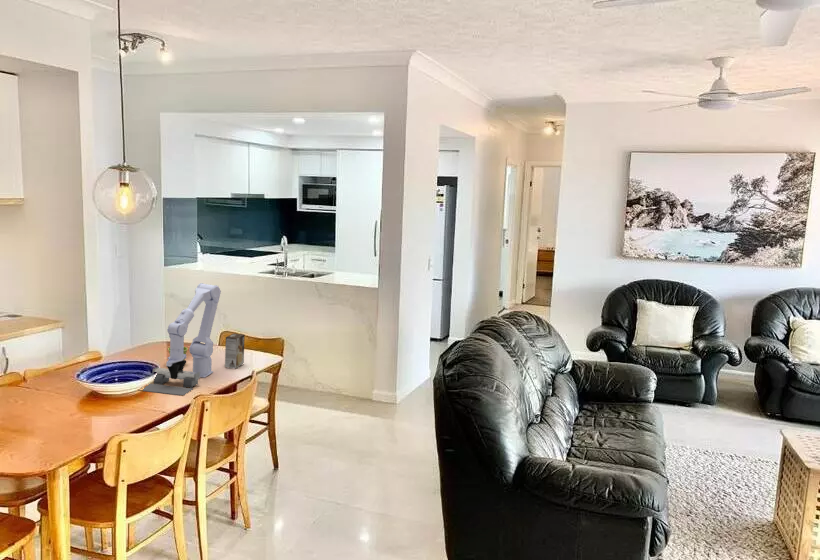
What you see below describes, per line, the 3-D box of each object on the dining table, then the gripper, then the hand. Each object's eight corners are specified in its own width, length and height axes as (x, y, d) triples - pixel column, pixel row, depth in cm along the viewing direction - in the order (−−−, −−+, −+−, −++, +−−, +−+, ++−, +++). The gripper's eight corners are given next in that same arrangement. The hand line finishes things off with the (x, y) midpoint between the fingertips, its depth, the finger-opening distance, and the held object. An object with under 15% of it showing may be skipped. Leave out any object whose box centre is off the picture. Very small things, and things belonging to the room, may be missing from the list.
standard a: (189, 383, 278) (189, 374, 278) (197, 383, 278) (198, 375, 277) (183, 387, 272) (183, 378, 272) (191, 388, 272) (191, 379, 271)
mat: (149, 384, 272) (149, 383, 272) (193, 389, 270) (193, 388, 270) (137, 390, 264) (137, 389, 263) (183, 395, 261) (183, 395, 261)
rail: (157, 373, 278) (157, 367, 278) (199, 378, 276) (199, 372, 276) (152, 376, 274) (152, 369, 274) (195, 381, 272) (195, 374, 272)
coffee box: (232, 363, 314) (233, 333, 311) (244, 364, 313) (245, 334, 310) (224, 367, 305) (225, 336, 302) (236, 369, 304) (237, 338, 301)
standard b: (161, 379, 280) (161, 370, 279) (169, 380, 279) (169, 371, 279) (153, 383, 274) (153, 374, 273) (162, 384, 273) (162, 375, 273)
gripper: (176, 343, 281) (175, 372, 283) (160, 351, 267) (159, 381, 269) (190, 345, 280) (190, 373, 282) (175, 353, 266) (174, 382, 268)
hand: (176, 377), depth 275 cm, fingers open, 4 cm apart
